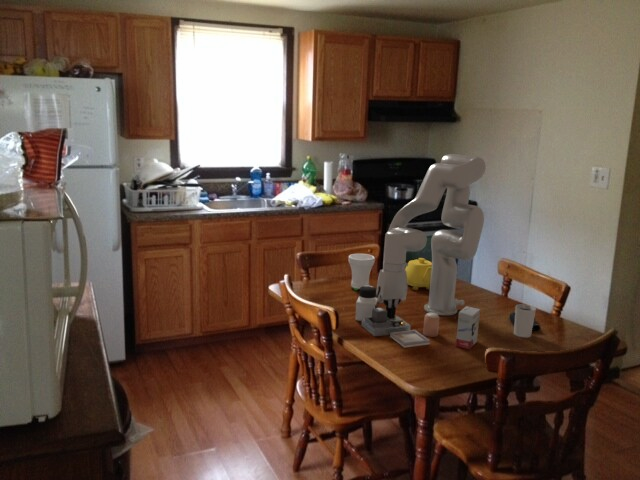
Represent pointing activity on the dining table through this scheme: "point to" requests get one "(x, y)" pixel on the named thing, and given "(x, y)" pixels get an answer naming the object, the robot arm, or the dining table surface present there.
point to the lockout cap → (431, 324)
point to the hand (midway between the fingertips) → (390, 317)
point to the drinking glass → (524, 320)
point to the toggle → (379, 315)
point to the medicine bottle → (366, 302)
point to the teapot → (419, 273)
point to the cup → (360, 269)
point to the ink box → (467, 327)
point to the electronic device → (535, 325)
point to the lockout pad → (409, 338)
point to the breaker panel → (385, 326)
